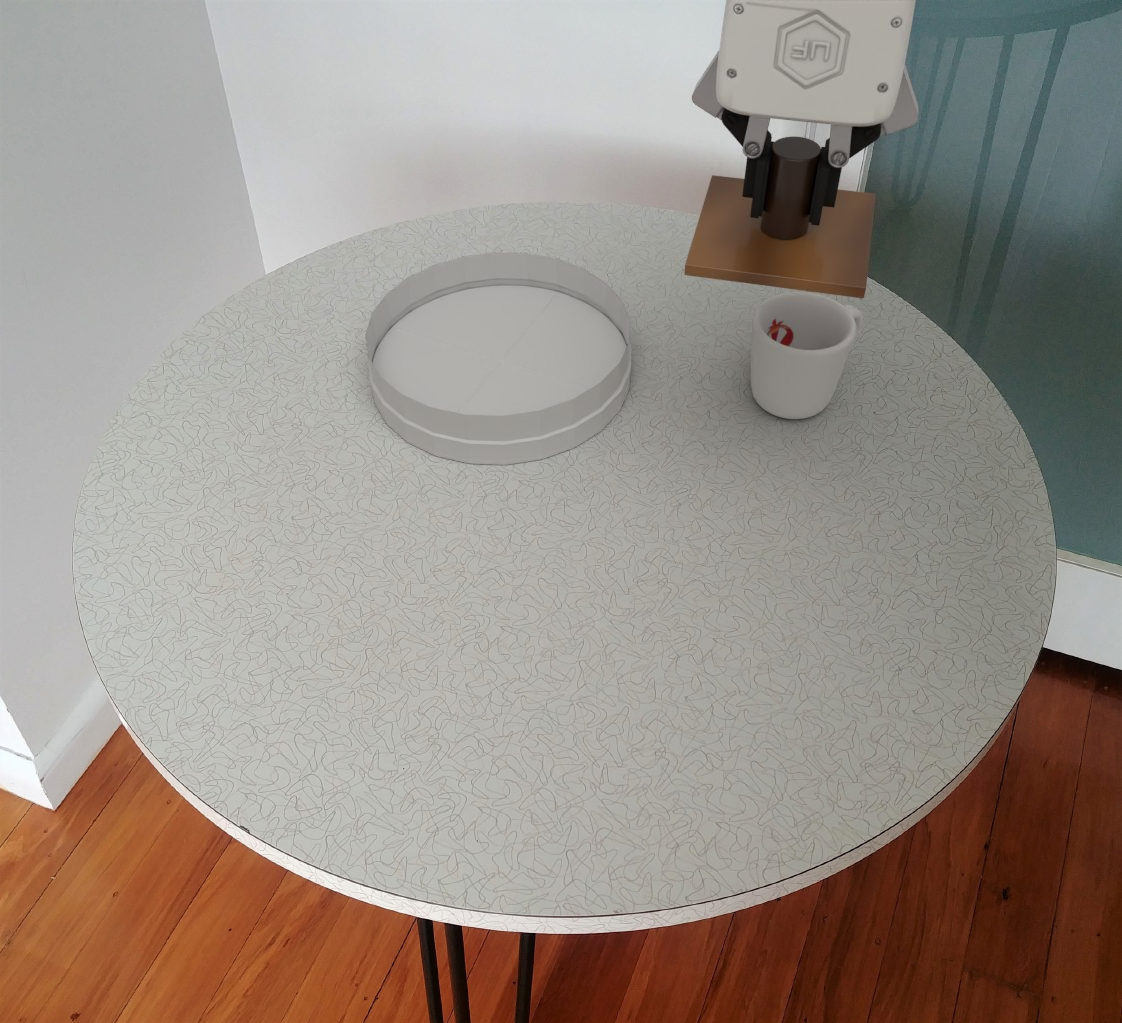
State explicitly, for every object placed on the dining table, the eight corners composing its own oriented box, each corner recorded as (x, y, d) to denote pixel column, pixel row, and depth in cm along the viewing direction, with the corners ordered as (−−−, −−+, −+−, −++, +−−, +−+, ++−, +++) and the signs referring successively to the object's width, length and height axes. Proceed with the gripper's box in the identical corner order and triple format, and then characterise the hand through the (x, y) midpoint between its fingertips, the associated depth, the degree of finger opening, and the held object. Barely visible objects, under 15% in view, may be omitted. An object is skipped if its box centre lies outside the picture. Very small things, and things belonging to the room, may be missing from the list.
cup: (813, 343, 93) (828, 266, 87) (882, 391, 88) (903, 312, 82) (721, 392, 88) (731, 314, 83) (789, 445, 84) (804, 366, 78)
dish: (319, 415, 87) (308, 368, 84) (453, 274, 101) (449, 228, 97) (561, 499, 80) (560, 452, 77) (671, 335, 94) (674, 288, 90)
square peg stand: (873, 204, 71) (893, 114, 67) (863, 298, 64) (885, 206, 60) (711, 185, 73) (719, 97, 69) (684, 275, 66) (691, 184, 62)
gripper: (665, -97, 53) (648, 226, 66) (1007, -74, 50) (917, 259, 63) (690, -143, 58) (670, 166, 71) (1003, -125, 55) (920, 195, 68)
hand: (787, 208), depth 67 cm, fingers closed on square peg stand, 3 cm apart
